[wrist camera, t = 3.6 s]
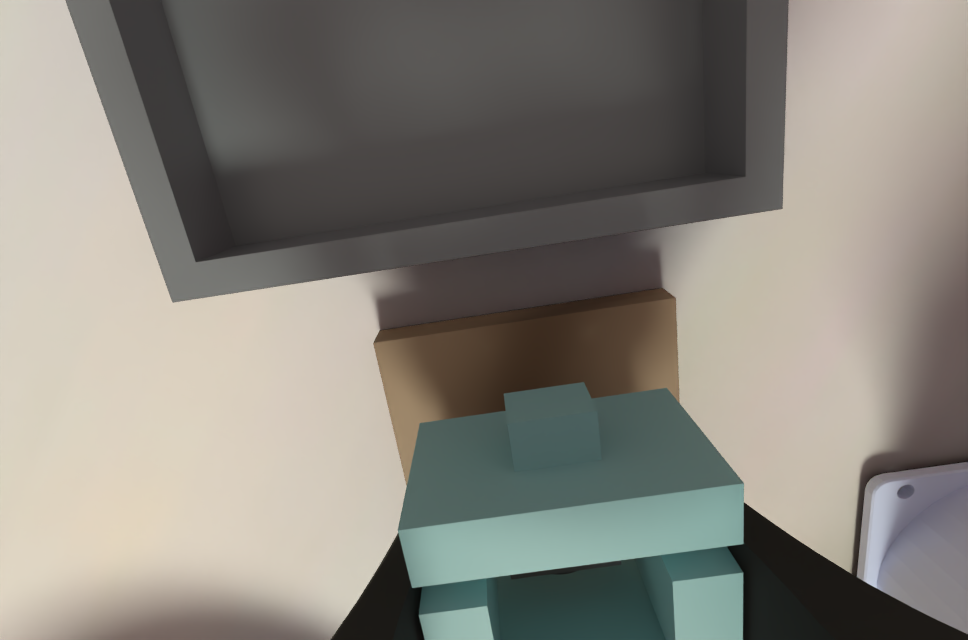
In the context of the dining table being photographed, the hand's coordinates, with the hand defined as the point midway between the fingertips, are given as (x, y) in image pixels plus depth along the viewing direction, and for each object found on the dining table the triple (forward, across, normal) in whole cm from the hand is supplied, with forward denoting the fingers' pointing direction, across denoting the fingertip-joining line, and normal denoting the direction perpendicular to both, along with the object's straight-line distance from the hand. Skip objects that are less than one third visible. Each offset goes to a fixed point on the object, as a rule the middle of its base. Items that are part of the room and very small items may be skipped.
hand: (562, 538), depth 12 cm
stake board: (+4, 0, 0) cm, 5 cm away
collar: (+1, 0, 0) cm, 1 cm away
